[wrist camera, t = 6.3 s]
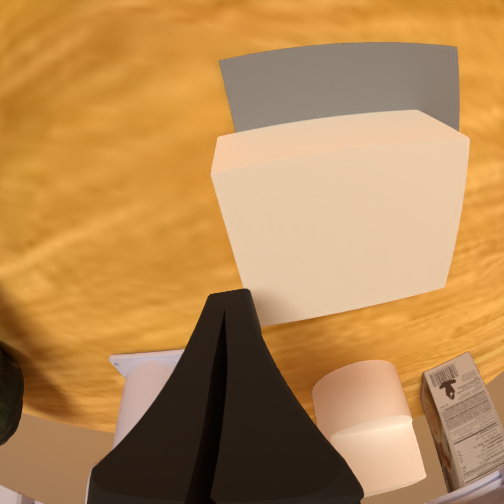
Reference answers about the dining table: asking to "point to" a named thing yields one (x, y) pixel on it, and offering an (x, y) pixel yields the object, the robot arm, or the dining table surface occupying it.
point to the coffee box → (462, 422)
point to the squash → (10, 397)
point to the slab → (341, 210)
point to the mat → (342, 82)
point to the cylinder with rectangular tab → (369, 425)
